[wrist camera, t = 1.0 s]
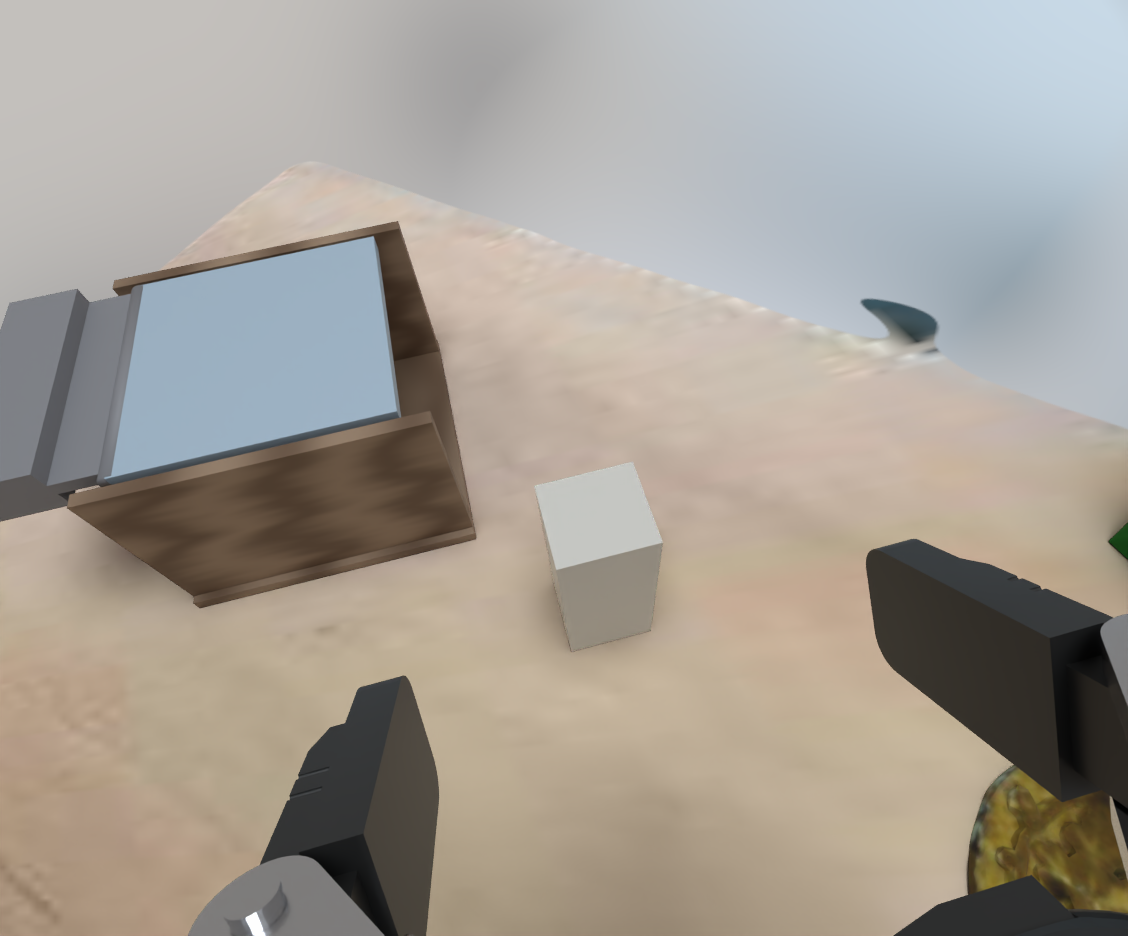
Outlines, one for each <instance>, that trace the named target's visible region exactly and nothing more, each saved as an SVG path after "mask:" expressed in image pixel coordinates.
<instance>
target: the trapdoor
mask: <svg viewBox="0 0 1128 936" xmlns="http://www.w3.org/2000/svg"><path fill="white" fill-rule="evenodd" d="M396 418H401V412H400V405H399V397H398V390H397V383H396V375H395V368H394V361H393V353H392V346H391V339H390V332H389V324H388V317H387V310H386V302H385V295H384V288H383V280H382V273H381V266H380V258H379V251H378V247H377V244H376V242H375V239H374V236H373V237H368V238H363V239H358V240H353V241H349V242H344V243H339V244H334V245H330V246H325V247H320V248H315V249H311V250H306V251H301V252H296V253H292V254H287V255H282V256H277V257H273V258H268V259H263V260H258V261H254V262H249V263H244V264H239V265H235V266H230V267H225V268H220V269H216V270H211V271H206V272H201V273H197V274H192V275H187V276H182V277H178V278H173V279H168V280H163V281H159V282H154V283H149V284H144V285H138V286H135V287H133V288H132V291H131V294H127V295H123V296H118V297H113V298H108V299H104V300H99V301H95V302H89V301H88V300H87V299H86V298H85V297H84V296H83V295H82V294H81V293H80V291H79V290H78V289H75V290H70V291H65V292H60V293H56V294H50V295H46V296H41V297H36V298H32V299H27V300H22V301H17V302H12V303H10V304H9V306H8V309H7V312H6V315H5V318H4V321H3V324H2V327H1V330H0V522H1V521H5V520H9V519H13V518H18V517H22V516H26V515H31V514H35V513H39V512H43V511H48V510H52V509H56V508H60V507H65V506H67V505H68V500H69V495H70V494H75V490H78V489H82V488H86V487H91V486H95V485H99V486H101V487H105V486H109V485H113V484H117V483H122V482H126V481H130V480H135V479H139V478H143V477H147V476H152V475H156V474H160V473H165V472H169V471H173V470H178V469H182V468H186V467H190V466H195V465H199V464H203V463H208V462H212V461H216V460H220V459H225V458H229V457H233V456H238V455H242V454H246V453H250V452H255V451H259V450H263V449H268V448H272V447H276V446H280V445H285V444H289V443H293V442H298V441H302V440H306V439H311V438H315V437H319V436H323V435H328V434H332V433H336V432H341V431H345V430H349V429H353V428H358V427H362V426H366V425H371V424H375V423H379V422H383V421H388V420H392V419H396Z"/></svg>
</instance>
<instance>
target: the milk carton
mask: <svg viewBox="0 0 1128 936" xmlns="http://www.w3.org/2000/svg"><path fill="white" fill-rule="evenodd" d="M1109 542H1110V543H1111V544H1112V545H1113V546H1114V547H1115V548H1116V549H1117V550H1118V551H1119V552H1120V553H1122V554H1123V555H1124V556H1125V557H1126V558H1127V559H1128V523H1127V524H1126V525H1125V526H1124V527H1123V528H1122V529H1121V530H1120V531H1119V532H1118V533H1117V534H1116V535H1114V536H1113V537H1112V538H1111V539H1110V540H1109Z"/></svg>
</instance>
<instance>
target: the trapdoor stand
mask: <svg viewBox="0 0 1128 936" xmlns="http://www.w3.org/2000/svg"><path fill="white" fill-rule="evenodd" d="M373 236H374V239H375V242H376V244H377V247H378V251H379V258H380V266H381V273H382V280H383V288H384V295H385V302H386V310H387V317H388V324H389V332H390V339H391V346H392V353H393V361H394V368H395V375H396V383H397V390H398V397H399V405H400V412H401V418H396V419H392V420H388V421H383V422H379V423H375V424H371V425H366V426H362V427H358V428H353V429H349V430H345V431H341V432H336V433H332V434H328V435H323V436H319V437H315V438H311V439H306V440H302V441H298V442H293V443H289V444H285V445H280V446H276V447H272V448H268V449H263V450H259V451H255V452H250V453H246V454H242V455H238V456H233V457H229V458H225V459H220V460H216V461H212V462H208V463H203V464H199V465H195V466H190V467H186V468H182V469H178V470H173V471H169V472H165V473H160V474H156V475H152V476H147V477H143V478H139V479H135V480H130V481H126V482H122V483H117V484H113V485H109V486H105V487H100V488H96V489H92V490H87V491H83V492H79V493H75V494H70V495H69V500H68V505H67V508H68V509H69V510H70V511H72V512H73V513H75V514H76V515H78V516H79V517H81V518H82V519H83V520H85V521H86V522H88V523H89V524H91V525H92V526H93V527H95V528H96V529H98V530H99V531H101V532H102V533H104V534H105V535H106V536H108V537H109V538H111V539H112V540H114V541H115V542H116V543H118V544H119V545H121V546H122V547H124V548H125V549H127V550H128V551H129V552H131V553H132V554H134V555H135V556H137V557H138V558H139V559H141V560H142V561H144V562H145V563H147V564H148V565H150V566H151V567H152V568H154V569H155V570H157V571H158V572H160V573H161V574H162V575H164V576H165V577H167V578H168V579H170V580H171V581H173V582H174V583H175V584H177V585H178V586H180V587H181V588H183V589H184V590H185V591H187V592H188V593H190V594H191V595H193V596H194V601H193V604H195V605H196V606H198V607H199V608H202V607H206V606H210V605H214V604H218V603H222V602H226V601H230V600H234V599H238V598H242V597H246V596H250V595H254V594H258V593H262V592H266V591H270V590H274V589H278V588H282V587H286V586H290V585H294V584H298V583H302V582H306V581H310V580H314V579H318V578H322V577H326V576H330V575H334V574H338V573H342V572H346V571H350V570H354V569H358V568H362V567H366V566H370V565H374V564H378V563H382V562H386V561H390V560H394V559H398V558H402V557H406V556H410V555H414V554H418V553H422V552H426V551H430V550H434V549H438V548H442V547H446V546H450V545H454V544H458V543H462V542H466V541H470V540H474V539H476V535H475V529H474V524H473V519H472V514H471V509H470V504H469V498H468V493H467V488H466V483H465V478H464V473H463V467H462V462H461V457H460V452H459V447H458V441H457V436H456V431H455V426H454V421H453V416H452V410H451V405H450V400H449V395H448V390H447V385H446V379H445V374H444V369H443V364H442V359H441V353H440V348H439V345H438V341H437V340H436V337H435V334H434V331H433V328H432V325H431V322H430V319H429V315H428V312H427V309H426V306H425V303H424V300H423V297H422V294H421V291H420V288H419V285H418V282H417V278H416V275H415V272H414V269H413V266H412V263H411V260H410V257H409V254H408V251H407V248H406V245H405V241H404V238H403V235H402V232H401V229H400V226H399V223H398V221H396V222H391V223H387V224H382V225H377V226H372V227H368V228H363V229H358V230H353V231H348V232H344V233H339V234H334V235H329V236H325V237H320V238H315V239H310V240H305V241H301V242H296V243H291V244H286V245H281V246H277V247H272V248H267V249H262V250H258V251H253V252H248V253H243V254H238V255H234V256H229V257H224V258H219V259H215V260H210V261H205V262H200V263H195V264H191V265H186V266H181V267H176V268H171V269H167V270H162V271H157V272H152V273H148V274H143V275H138V276H133V277H128V278H124V279H119V280H115V281H114V285H113V290H114V291H115V292H116V293H117V294H118V296H123V295H127V294H131V291H132V288H133V287H135V286H138V285H144V284H149V283H154V282H159V281H163V280H168V279H173V278H178V277H182V276H187V275H192V274H197V273H201V272H206V271H211V270H216V269H220V268H225V267H230V266H235V265H239V264H244V263H249V262H254V261H258V260H263V259H268V258H273V257H277V256H282V255H287V254H292V253H296V252H301V251H306V250H311V249H315V248H320V247H325V246H330V245H334V244H339V243H344V242H349V241H353V240H358V239H363V238H368V237H373Z"/></svg>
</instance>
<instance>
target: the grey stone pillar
mask: <svg viewBox="0 0 1128 936" xmlns="http://www.w3.org/2000/svg"><path fill="white" fill-rule="evenodd" d="M534 487H535V492H536V497H537V502H538V507H539V512H540V517H541V522H542V527H543V532H544V537H545V542H546V547H547V552H548V557H549V562H550V567H551V572H552V577H553V582H554V586H555V590H556V594H557V598H558V602H559V606H560V610H561V614H562V618H563V622H564V625H565V629H566V633H567V637H568V641H569V645H570V649H571V652H573V651H577V650H581V649H584V648H588V647H592V646H596V645H599V644H603V643H607V642H610V641H614V640H618V639H622V638H625V637H629V636H633V635H637V634H640V633H644V632H648V631H651V625H652V618H653V610H654V603H655V596H656V589H657V581H658V574H659V567H660V559H661V552H662V545H663V542H662V539H661V536H660V534H659V531H658V528H657V526H656V523H655V520H654V517H653V515H652V512H651V509H650V507H649V504H648V501H647V499H646V496H645V493H644V491H643V488H642V485H641V483H640V480H639V477H638V475H637V472H636V469H635V466H634V464H633V462H629V463H625V464H621V465H617V466H613V467H609V468H605V469H601V470H597V471H593V472H589V473H585V474H581V475H577V476H572V477H568V478H564V479H560V480H556V481H552V482H548V483H544V484H540V485H536V486H534Z"/></svg>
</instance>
